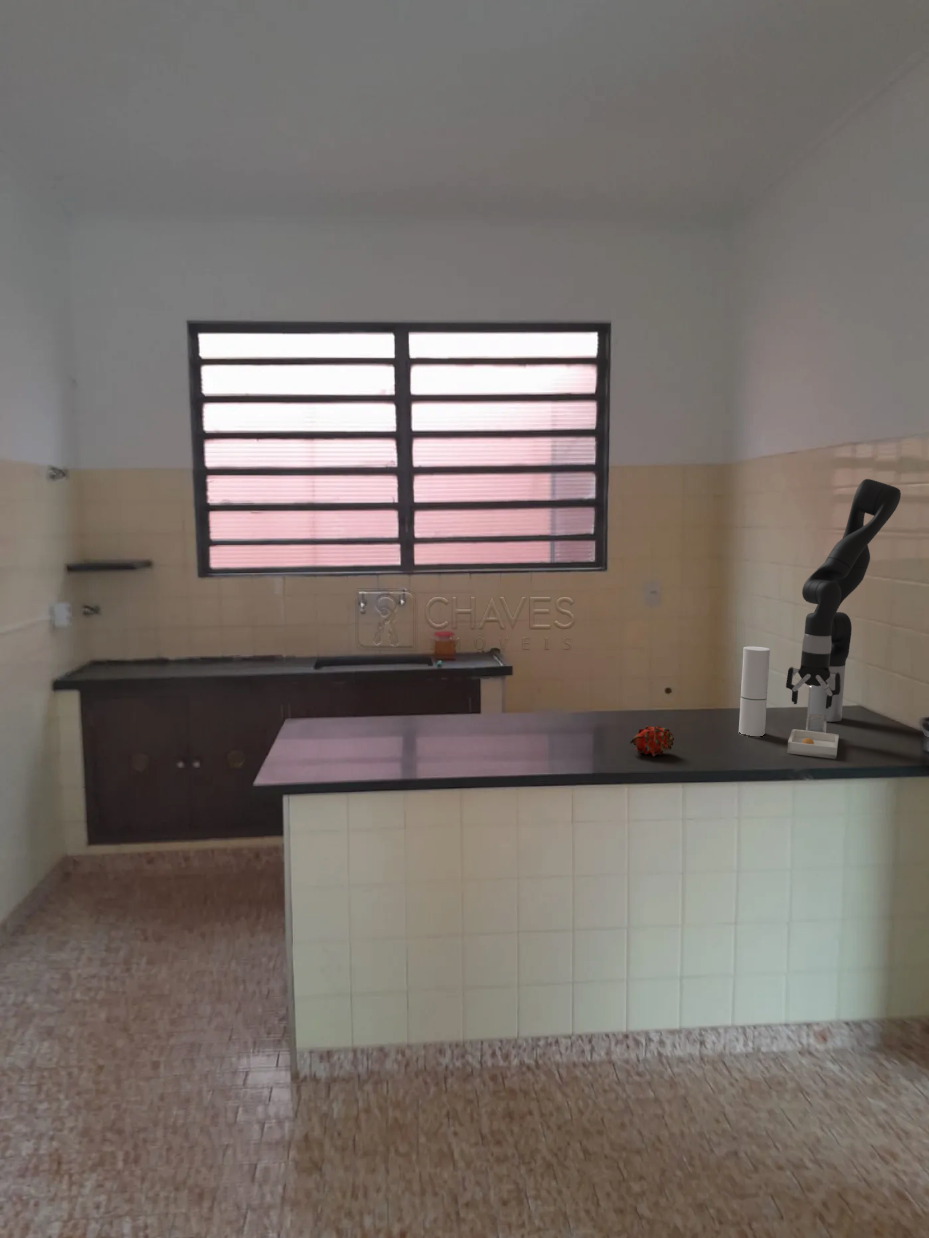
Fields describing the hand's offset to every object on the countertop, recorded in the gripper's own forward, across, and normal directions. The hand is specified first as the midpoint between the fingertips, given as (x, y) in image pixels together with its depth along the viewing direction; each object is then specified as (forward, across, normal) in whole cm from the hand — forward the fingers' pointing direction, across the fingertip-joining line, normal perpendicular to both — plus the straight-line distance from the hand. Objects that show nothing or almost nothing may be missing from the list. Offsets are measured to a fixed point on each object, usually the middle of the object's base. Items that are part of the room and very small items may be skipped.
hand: (811, 705), depth 246 cm
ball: (+6, +2, -18) cm, 19 cm away
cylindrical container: (+9, -15, -6) cm, 18 cm away
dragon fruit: (+9, -34, -41) cm, 54 cm away
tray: (+9, +3, -13) cm, 16 cm away
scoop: (+9, +2, 0) cm, 9 cm away
